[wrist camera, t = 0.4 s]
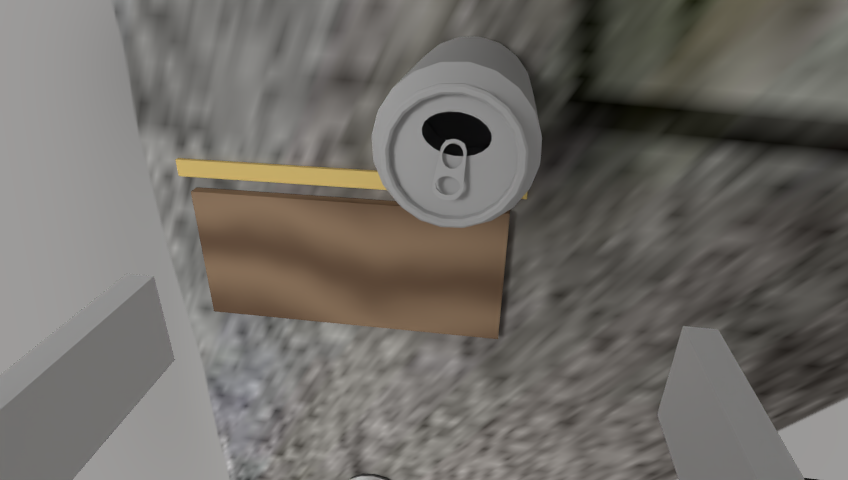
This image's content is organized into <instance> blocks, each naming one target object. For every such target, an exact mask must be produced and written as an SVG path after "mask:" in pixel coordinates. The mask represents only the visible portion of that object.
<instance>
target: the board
mask: <svg viewBox="0 0 848 480" xmlns="http://www.w3.org/2000/svg"><path fill="white" fill-rule="evenodd" d="M191 195H192V200H193V205H194V210H195V215H196V220H197V225H198V231H199V236H200V241H201V246H202V251H203V256H204V261H205V266H206V272H207V277H208V282H209V287H210V292H211V297H212V302H213V307H214V311H218V312H228V313H238V314H248V315H259V316H269V317H279V318H289V319H299V320H309V321H320V322H330V323H340V324H350V325H360V326H371V327H381V328H391V329H401V330H411V331H421V332H432V333H442V334H452V335H462V336H472V337H482V338H493V339H498V333H499V322H500V312H501V301H502V291H503V280H504V270H505V260H506V249H507V239H508V228H509V218H510V210H508V211H507V212H505V213H504V214H502V215H500V216H499V217H497V218H495V219H494V220H492V221H488V222H485V223H481V224H477V225H473V226H469V227H465V228H453V227H439V226H436V225H433V224H430V223H427V222H424V221H421V220H419V219H418V218H416V217H415V216H413V215H412V214H410V213H409V212H408V211H406V210H405V209H403V208H402V207H401V206H400V205H399V204H398V203H397V202H396V201H385V200H370V199H356V198H341V197H327V196H313V195H298V194H284V193H269V192H255V191H241V190H226V189H212V188H195V189H194V190H192V191H191Z"/></svg>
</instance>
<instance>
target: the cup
mask: <svg viewBox="0 0 848 480" xmlns="http://www.w3.org/2000/svg"><path fill="white" fill-rule="evenodd" d="M349 480H388V479H387V478H384V477H381V476H377V475H370V474H362V475H358V476H355V477H352V478H351V479H349Z"/></svg>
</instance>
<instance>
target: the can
mask: <svg viewBox="0 0 848 480" xmlns="http://www.w3.org/2000/svg"><path fill="white" fill-rule="evenodd" d="M541 147H542V135H541V130H540V125H539V119H538V114H537V109H536V104H535V99H534V94H533V90H532V86H531V82H530V79H529V75H528V72H527V71H526V69H525V68H524V66H523V65H522V63H521V62H520V60H519V59H518V57H517V56H516V55H515V54H514V53H512V52H511V51H510V50H508V49H507V48H506V47H504V46H503V45H502V44H501V43H498V42H495V41H492V40H489V39H486V38H483V37H458V38H455V39H452V40H449V41H447V42H444V43H441V44H439V45H438V46H437V47H435V48H434V49H433V50H432V51H430V52H429V53H428V54H427V55H425V56H424V57H423V58H422V59H421V60H420V61H419V62H418V63H417V64H416V65H415V66H414V67H413V68H412V69H411V70H410V71H409V72H408V73H407V74H406V75H405V76H404V77H403V78H402V79H401V80H400V81H399V82H398V83H397V84H396V85H395V86H394V87H393V88H392V90H391V91H390V93H389V94H388V96H387V97H386V99H385V100H384V102H383V104H382V105H381V107H380V108H379V110H378V112H377V116H376V120H375V124H374V128H373V132H372V148H373V161H374V164H375V166H376V169H377V171H378V174H379V176H380V179H381V181H382V184H383V185H384V187H385V188H386V189H387V190H388V192H389V193H390V194H391V195H392V197H393V198H394V199H395V200H396V202H397V203H398V204H399V205H400V206H401V207H402V208H403V209H405V210H406V211H408V212H409V213H410V214H412V215H413V216H415V217H416V218H418V219H419V220H421V221H424V222H427V223H430V224H433V225H436V226H439V227H453V228H465V227H469V226H473V225H477V224H481V223H485V222H488V221H492V220H494V219H495V218H497V217H499V216H500V215H502V214H504V213H505V212H507V211H508V210H510V209H512V208H513V207H514V206H515V205H516V204H517V203H518V202H519V200H520V199H521V198H522V197H523V196H524V195H525V194H526V192H527V191H528V190H529V189H530V187H531V185H532V183H533V180H534V178H535V176H536V173H537V171H538V168H539V166H540V160H541Z"/></svg>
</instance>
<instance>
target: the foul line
mask: <svg viewBox="0 0 848 480" xmlns="http://www.w3.org/2000/svg"><path fill="white" fill-rule="evenodd" d="M176 164H177V169H178V174H179V176H186V177H201V178H216V179H231V180H246V181H261V182H276V183H291V184H306V185H321V186H336V187H350V188H365V189H380V190H387V189H386V188H385V187H384V185H383V184H382V181H381V179H380V176H379V174H378V171H374V170H358V169H343V168H327V167H311V166H295V165H279V164H263V163H247V162H231V161H215V160H199V159H183V158H177V159H176ZM527 192H528V191H527ZM527 192H526V194H525V195H524V196H523V197H522V198H521V199H527Z"/></svg>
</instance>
